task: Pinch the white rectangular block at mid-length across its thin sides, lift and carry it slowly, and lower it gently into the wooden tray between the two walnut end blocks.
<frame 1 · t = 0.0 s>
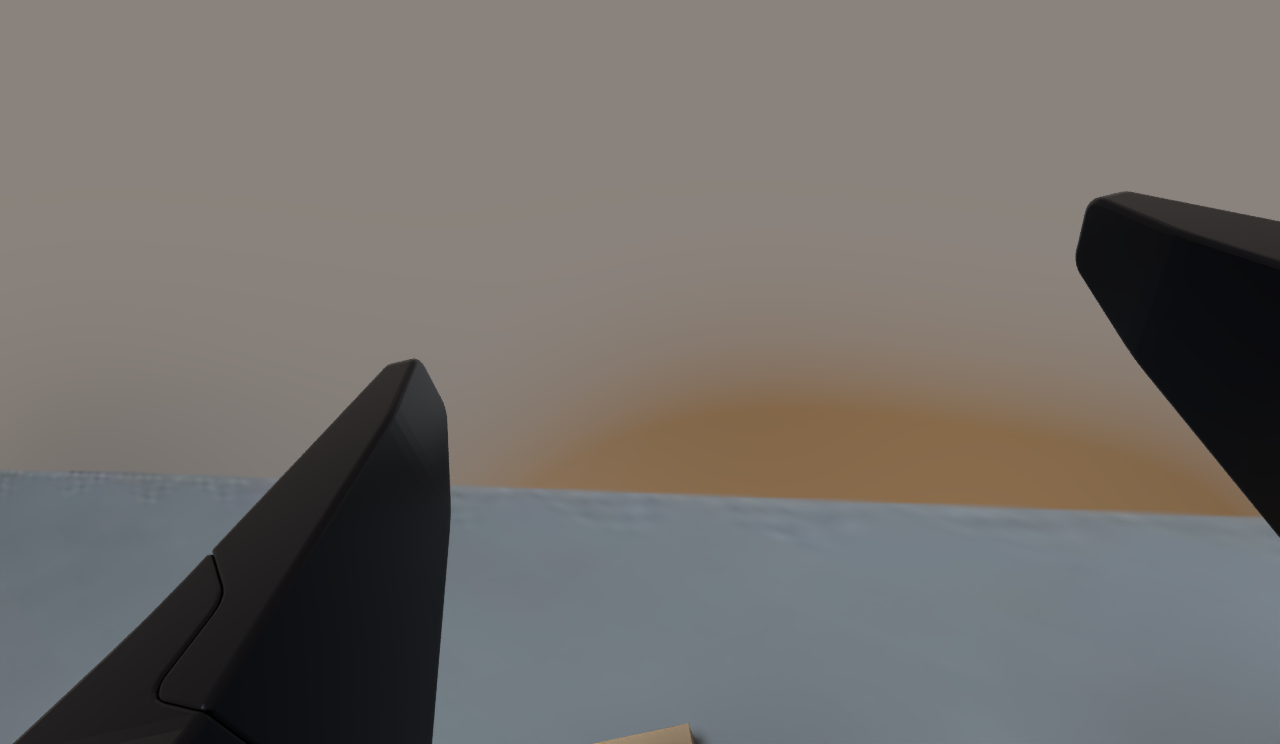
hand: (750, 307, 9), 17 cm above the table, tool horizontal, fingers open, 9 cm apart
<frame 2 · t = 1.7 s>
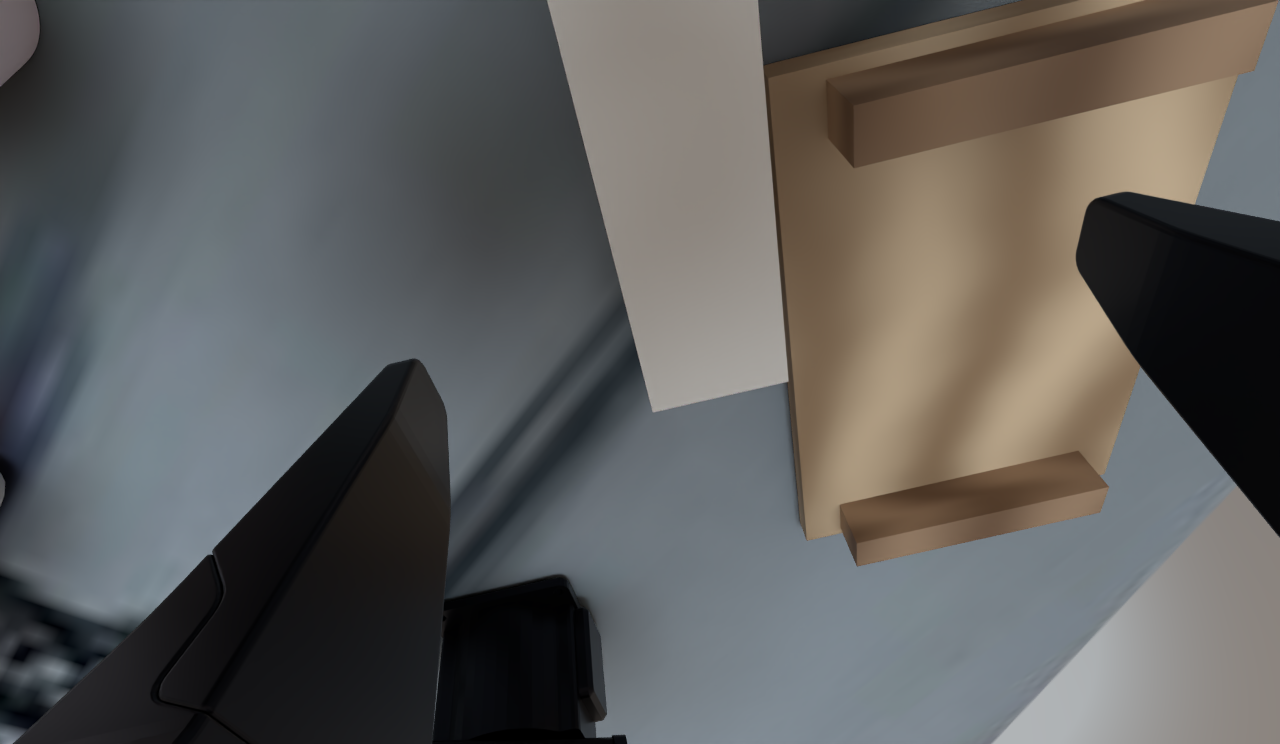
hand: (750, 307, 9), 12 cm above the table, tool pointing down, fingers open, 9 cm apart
wooden tray: (964, 309, 25), on the table
white rectangular block: (640, 53, 19), on the table
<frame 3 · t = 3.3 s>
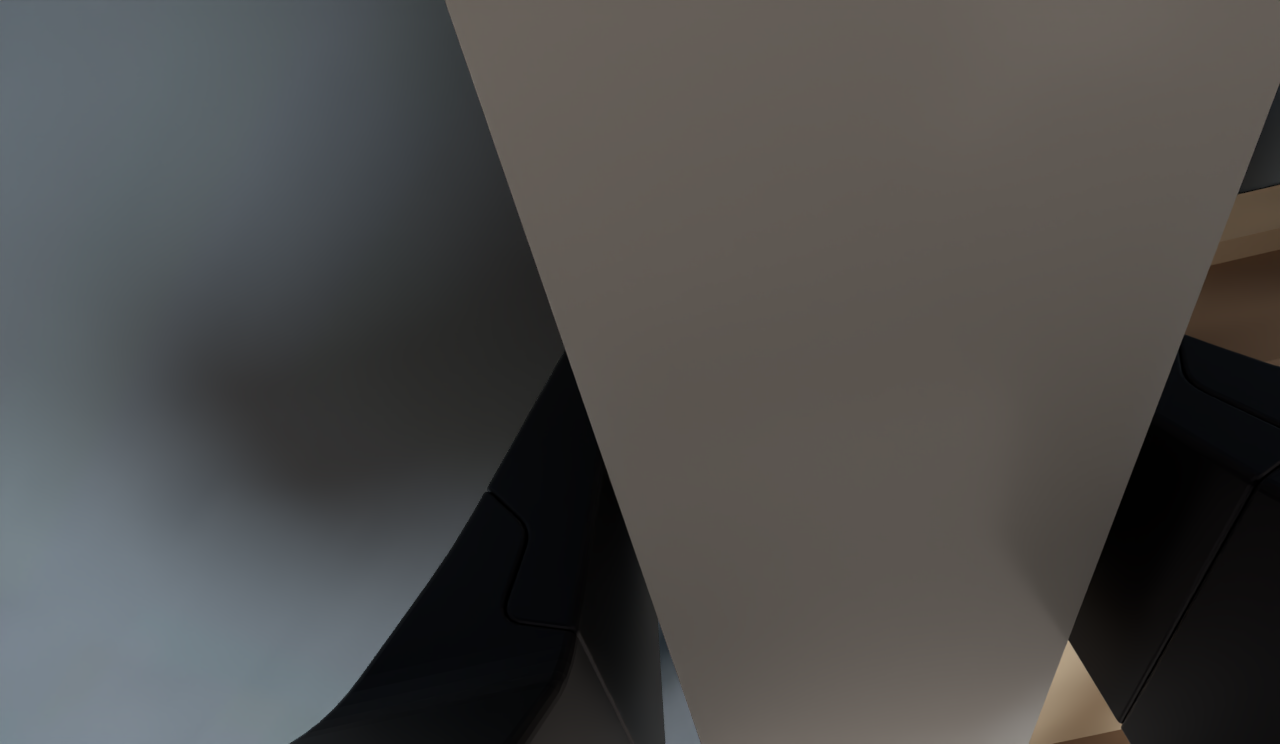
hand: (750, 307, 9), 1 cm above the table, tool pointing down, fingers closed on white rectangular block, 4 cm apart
wooden tray: (1163, 550, 17), on the table
white rectangular block: (728, 254, 11), on the table, touching gripper
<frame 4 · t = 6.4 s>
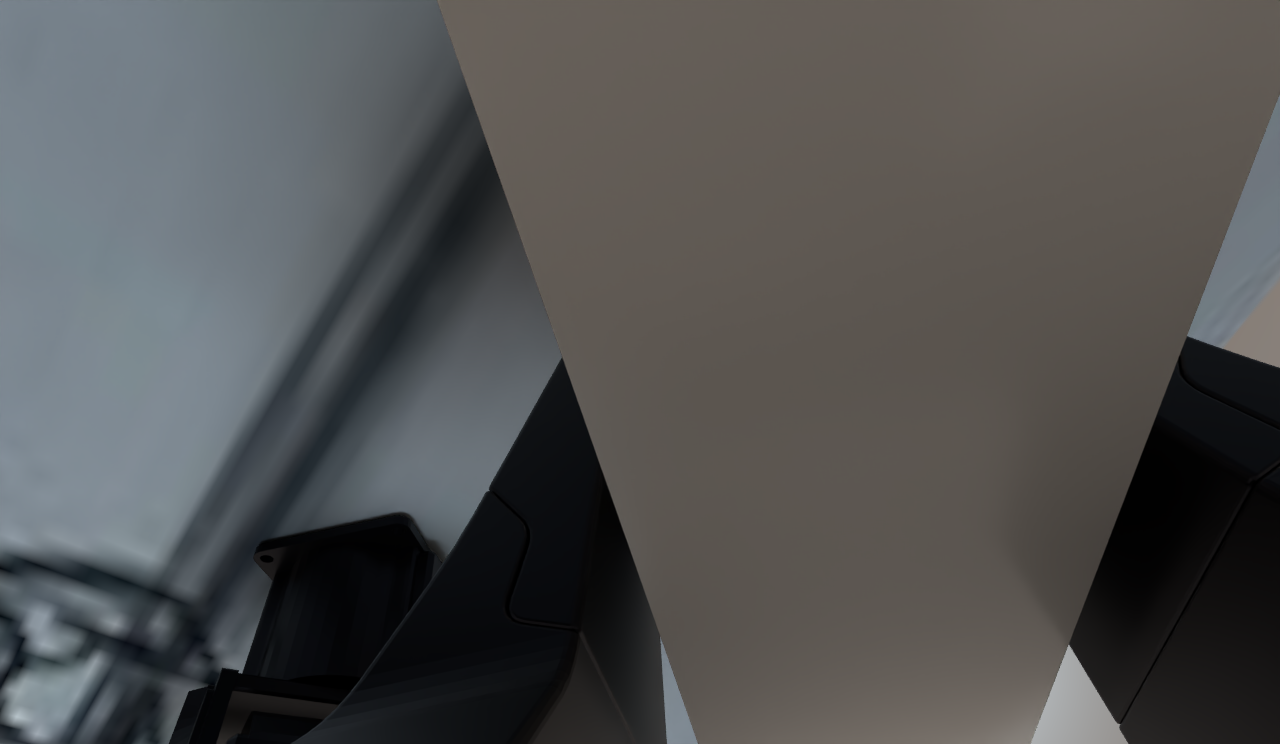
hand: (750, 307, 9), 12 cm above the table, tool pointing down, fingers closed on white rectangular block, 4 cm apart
white rectangular block: (727, 253, 10), point 11 cm above the table, touching gripper
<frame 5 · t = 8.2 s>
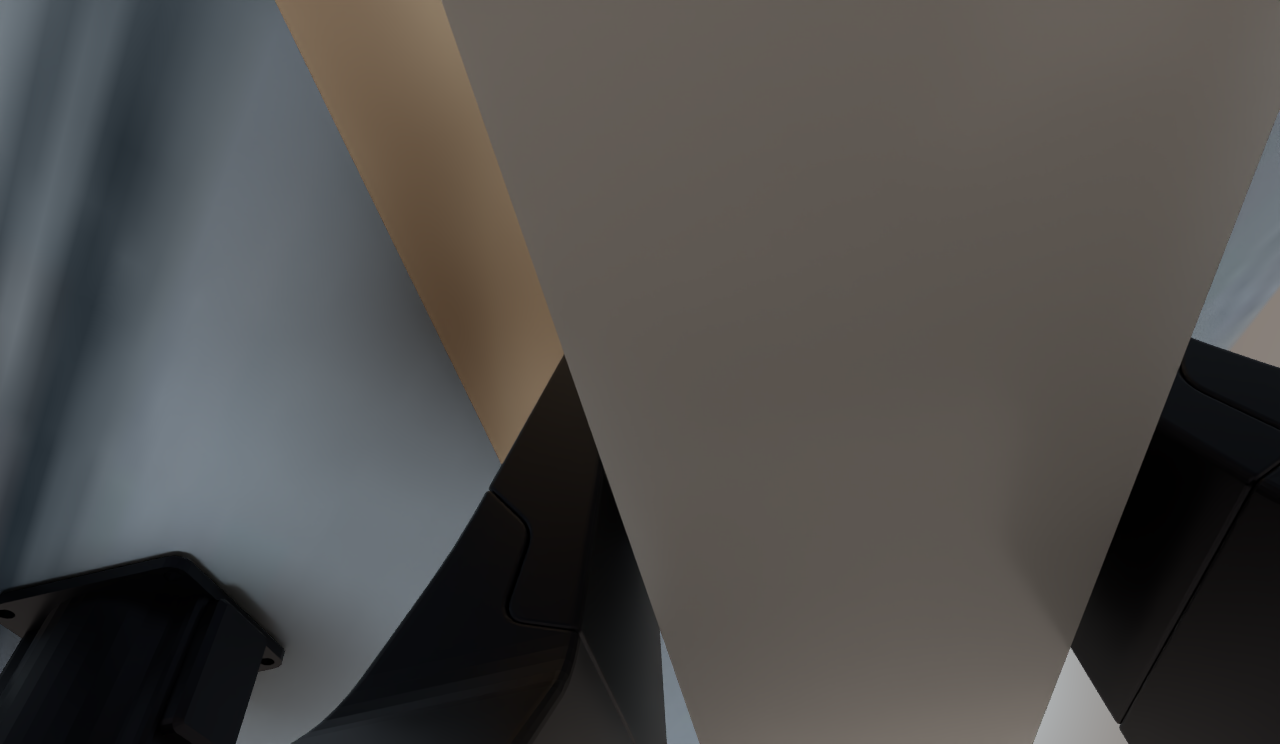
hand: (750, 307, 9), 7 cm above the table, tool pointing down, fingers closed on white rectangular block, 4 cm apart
wooden tray: (672, 109, 15), on the table
white rectangular block: (728, 254, 10), point 6 cm above the table, touching gripper
when the fingers open (4 cm above the table, at t = 9.7 s): white rectangular block drops 1 cm, resting on wooden tray.
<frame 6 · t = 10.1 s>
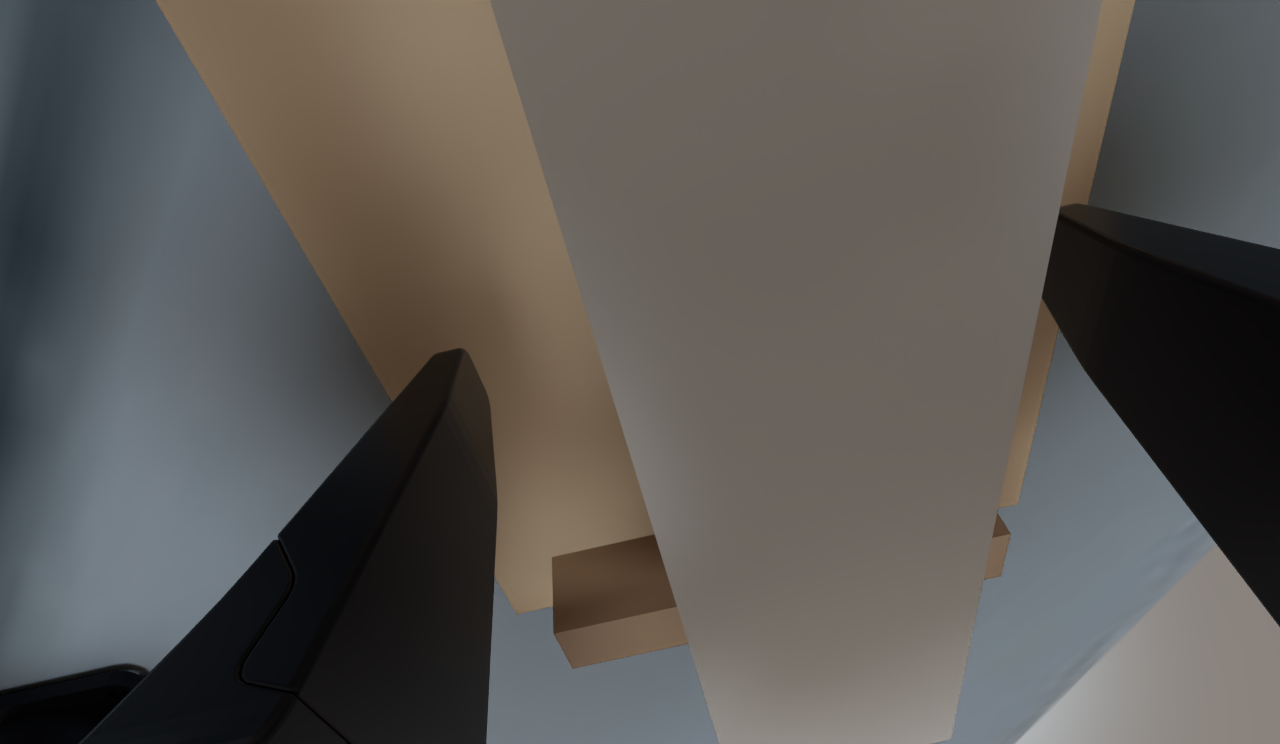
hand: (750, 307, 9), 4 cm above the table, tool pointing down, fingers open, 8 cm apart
wooden tray: (701, 184, 12), on the table
white rectangular block: (711, 209, 12), point 1 cm above the table, touching wooden tray
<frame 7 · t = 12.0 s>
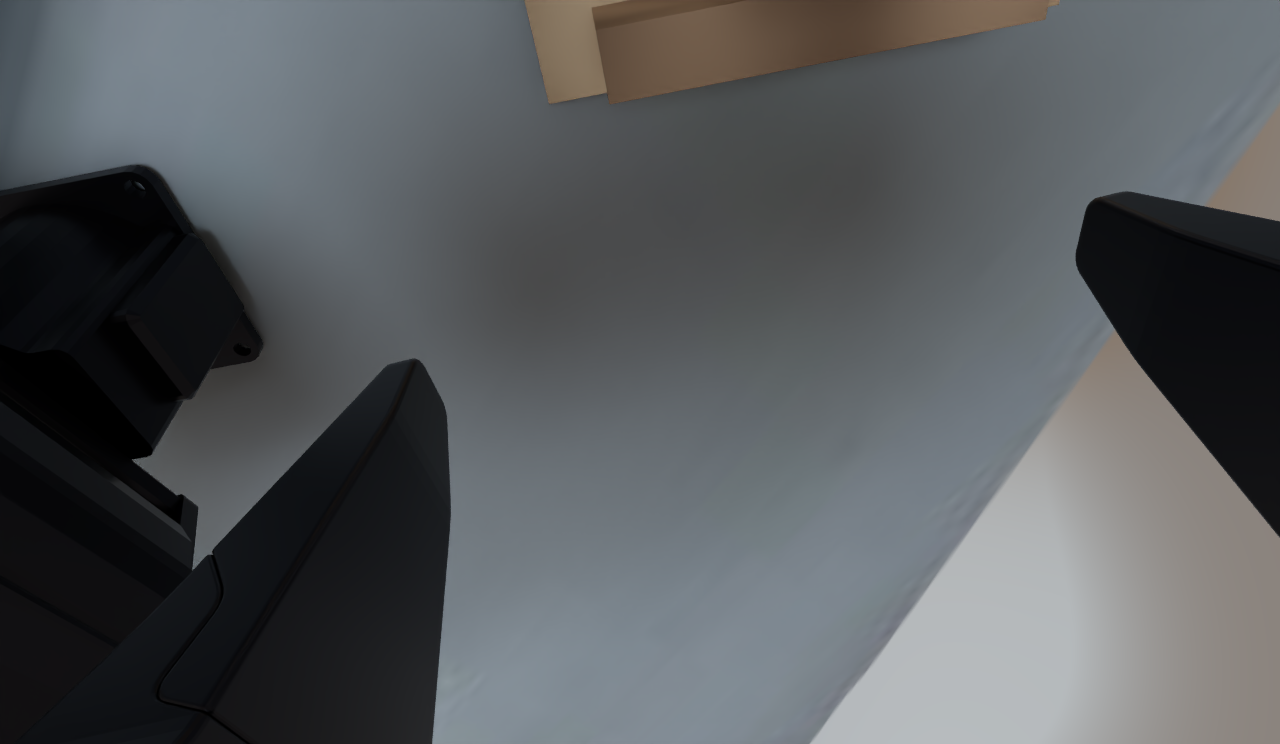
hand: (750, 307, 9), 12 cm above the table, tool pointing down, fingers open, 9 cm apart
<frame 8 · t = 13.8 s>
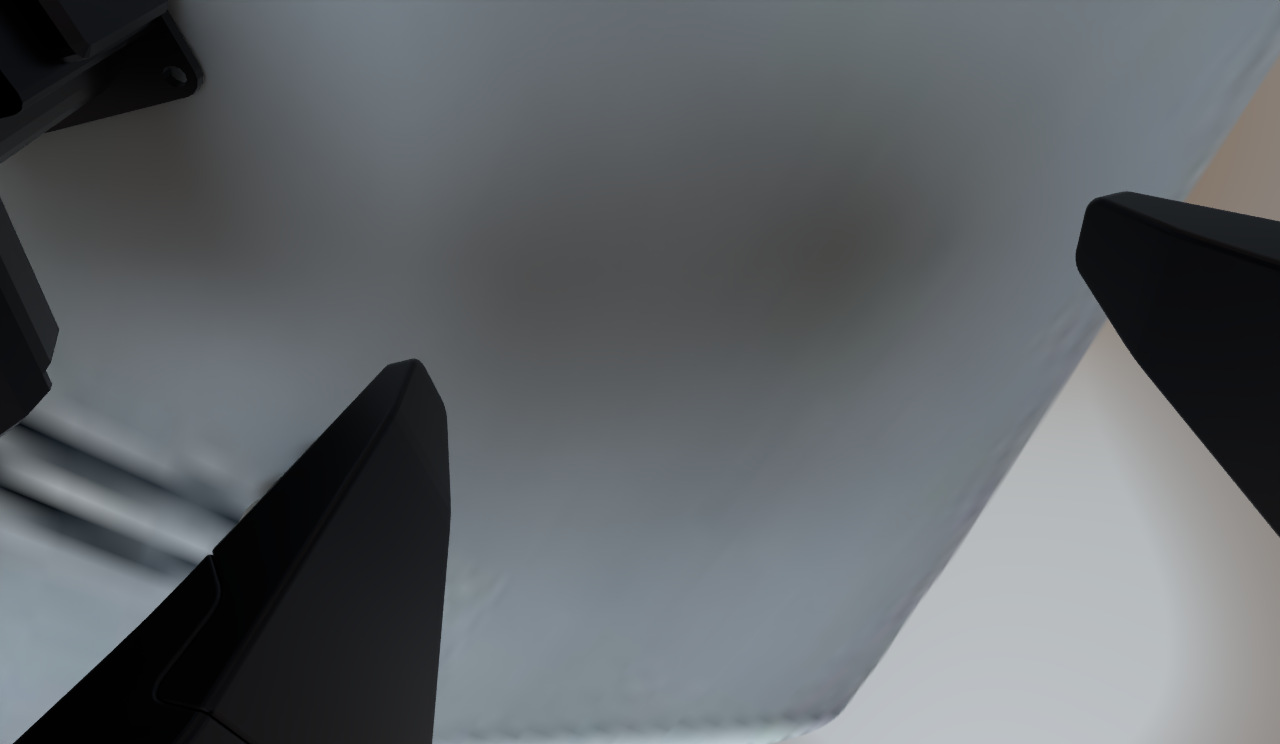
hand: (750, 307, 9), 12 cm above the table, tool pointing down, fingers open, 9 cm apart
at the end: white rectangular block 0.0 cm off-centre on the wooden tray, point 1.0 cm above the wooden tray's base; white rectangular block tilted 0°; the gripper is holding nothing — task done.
